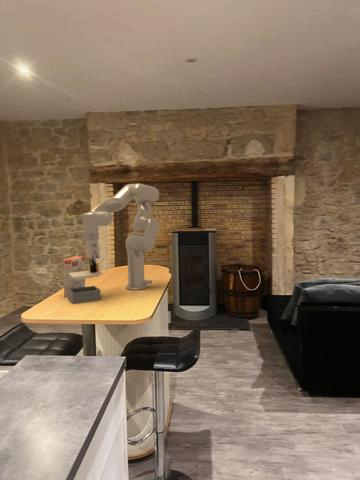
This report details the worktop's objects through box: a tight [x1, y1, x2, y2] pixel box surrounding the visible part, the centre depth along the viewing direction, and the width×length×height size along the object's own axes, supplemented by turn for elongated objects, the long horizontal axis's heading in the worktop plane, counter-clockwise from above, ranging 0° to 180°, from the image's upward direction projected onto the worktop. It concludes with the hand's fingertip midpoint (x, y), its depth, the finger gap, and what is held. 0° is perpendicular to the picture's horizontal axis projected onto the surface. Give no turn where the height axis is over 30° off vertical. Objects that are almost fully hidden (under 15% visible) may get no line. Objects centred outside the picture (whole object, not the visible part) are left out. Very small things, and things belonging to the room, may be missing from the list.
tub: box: [67, 285, 101, 305], centre depth 181 cm, size 14×11×6 cm
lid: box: [69, 262, 103, 280], centre depth 181 cm, size 15×12×6 cm
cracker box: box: [62, 255, 86, 298], centre depth 192 cm, size 14×6×21 cm, turn 168°
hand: (93, 271), depth 183 cm, fingers closed on lid, 1 cm apart
